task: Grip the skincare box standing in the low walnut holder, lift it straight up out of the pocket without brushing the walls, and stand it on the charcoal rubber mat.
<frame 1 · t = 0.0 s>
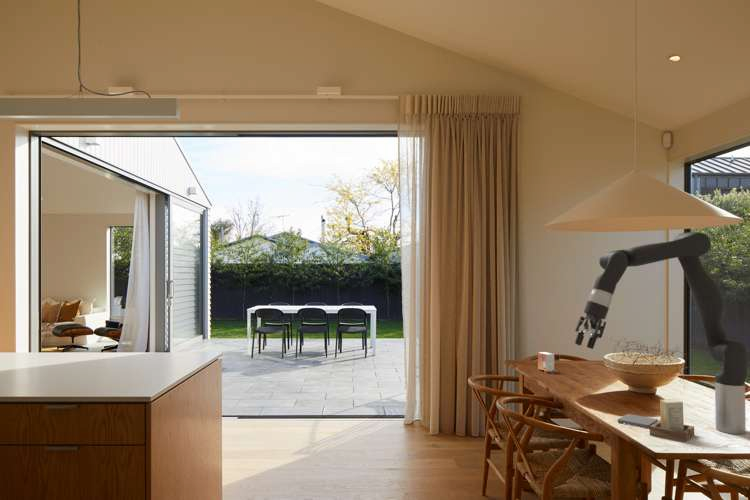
hand: (583, 346, 191), 31 cm above the table, tool tilted 20°, fingers open, 8 cm apart
small box: (546, 371, 308), on the table
skincare box: (672, 435, 191), resting in pocket holder
pocket holder: (672, 435, 191), on the table
rubber mat: (637, 422, 206), on the table
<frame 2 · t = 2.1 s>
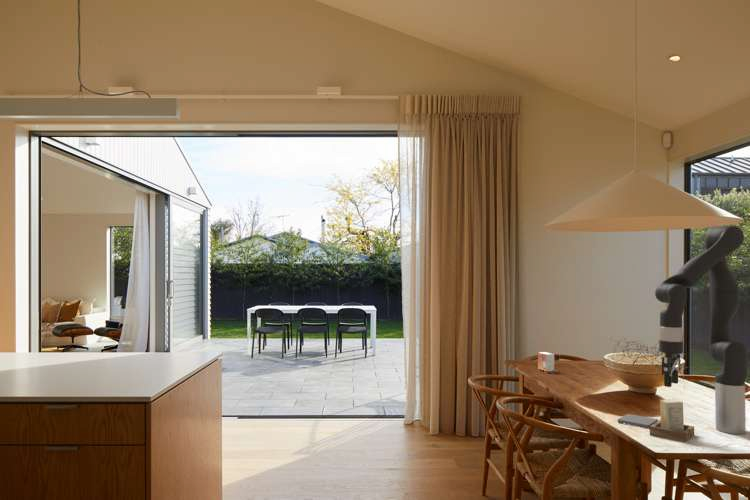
hand: (671, 384, 192), 18 cm above the table, tool pointing down, fingers open, 8 cm apart
nothing on the table moved.
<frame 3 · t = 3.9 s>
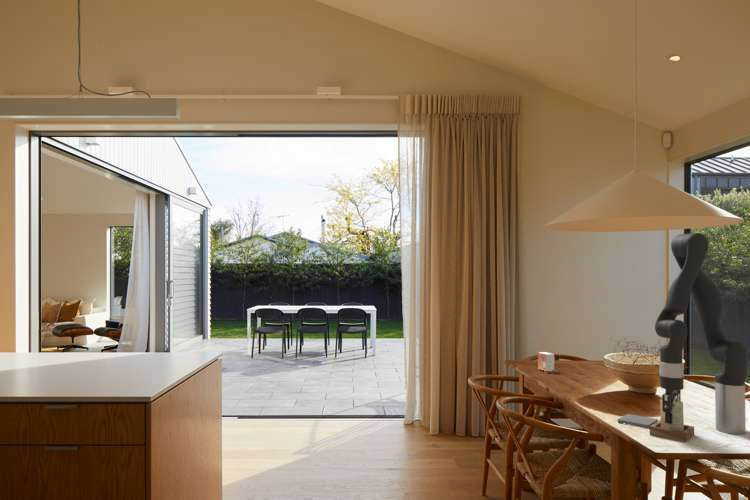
hand: (671, 421, 191), 5 cm above the table, tool pointing down, fingers closed on skincare box, 7 cm apart
skincare box: (672, 435, 191), resting in pocket holder, touching gripper
everything else where it was.
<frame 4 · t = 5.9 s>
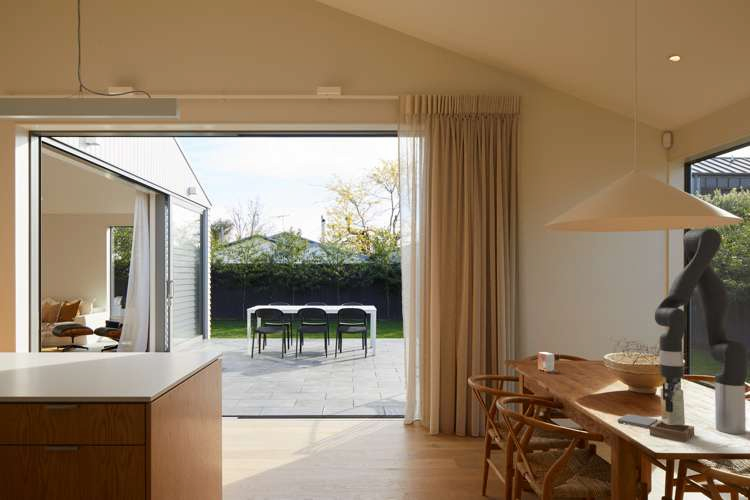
hand: (672, 409, 191), 9 cm above the table, tool pointing down, fingers closed on skincare box, 7 cm apart
skincare box: (672, 423, 191), point 4 cm above the table, touching gripper
everything else where it was.
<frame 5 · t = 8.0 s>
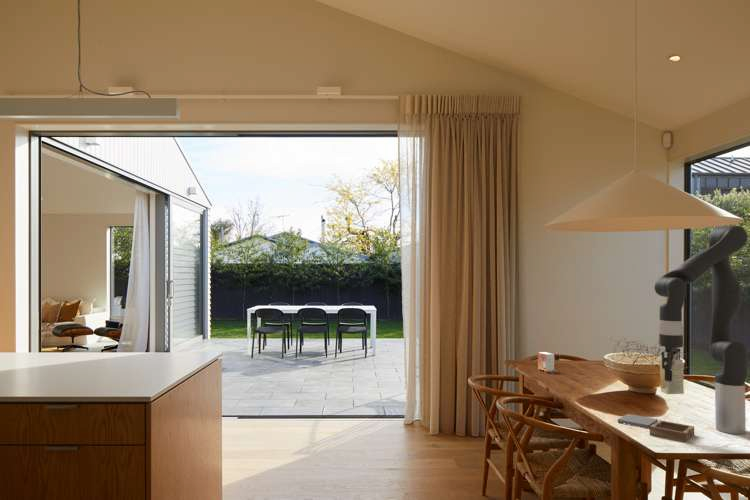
hand: (671, 379, 192), 20 cm above the table, tool pointing down, fingers closed on skincare box, 7 cm apart
skincare box: (671, 393, 191), point 15 cm above the table, touching gripper
everything else where it was.
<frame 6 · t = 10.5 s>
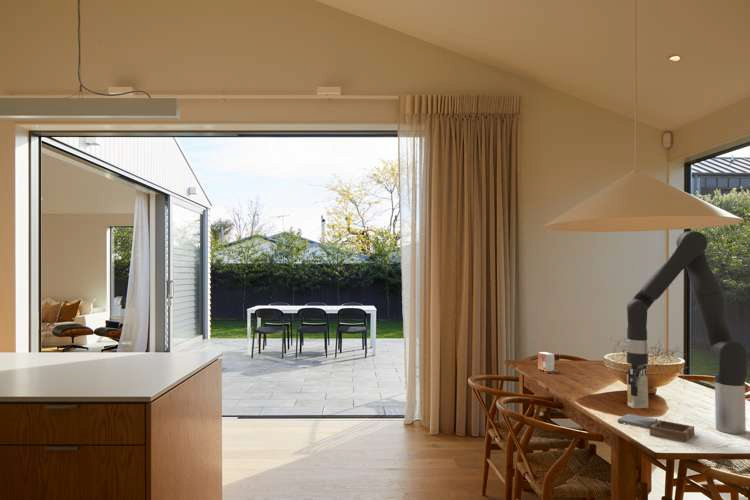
hand: (637, 394, 207), 11 cm above the table, tool pointing down, fingers closed on skincare box, 7 cm apart
skincare box: (637, 407, 207), point 6 cm above the table, touching gripper
everything else where it was.
when the fingers open (7 cm above the table, at t = 12.2 s): skincare box drops 1 cm, resting on rubber mat.
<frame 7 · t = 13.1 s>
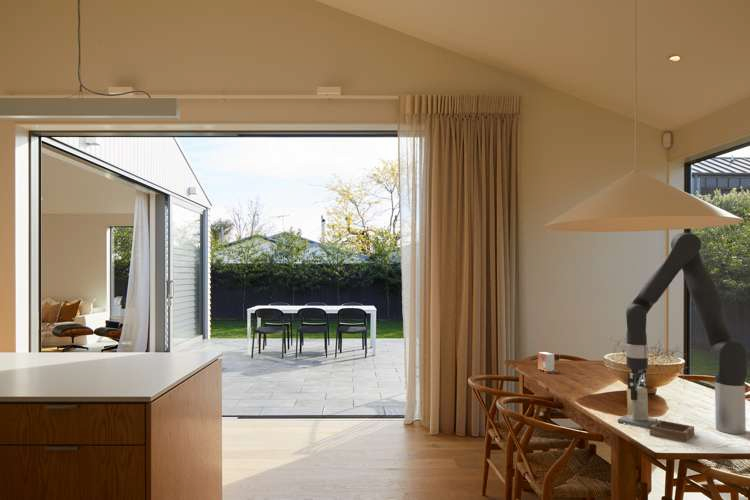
hand: (637, 398, 207), 9 cm above the table, tool pointing down, fingers open, 8 cm apart
skincare box: (637, 419, 206), point 1 cm above the table, touching rubber mat
everything else where it was.
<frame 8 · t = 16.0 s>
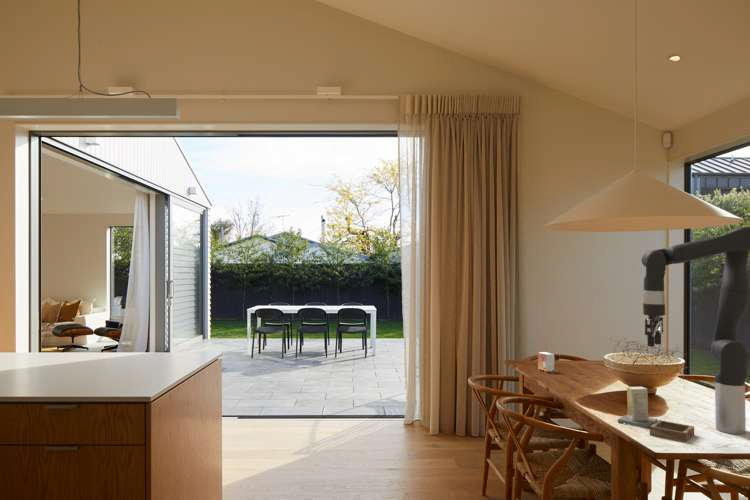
hand: (654, 345, 204), 30 cm above the table, tool pointing down, fingers open, 8 cm apart
nothing on the table moved.
at the end: skincare box inside the target area on the rubber mat (0.3 cm from its centre), point 1.0 cm above the rubber mat's base; skincare box tilted 0°; the gripper is holding nothing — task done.
